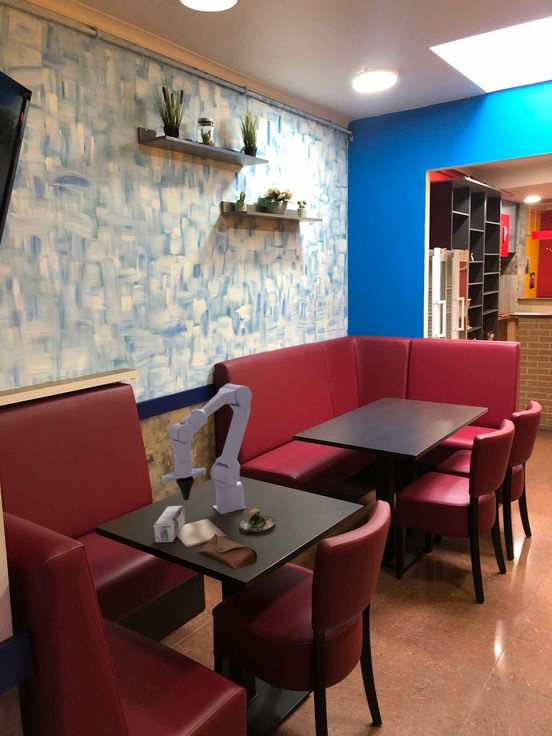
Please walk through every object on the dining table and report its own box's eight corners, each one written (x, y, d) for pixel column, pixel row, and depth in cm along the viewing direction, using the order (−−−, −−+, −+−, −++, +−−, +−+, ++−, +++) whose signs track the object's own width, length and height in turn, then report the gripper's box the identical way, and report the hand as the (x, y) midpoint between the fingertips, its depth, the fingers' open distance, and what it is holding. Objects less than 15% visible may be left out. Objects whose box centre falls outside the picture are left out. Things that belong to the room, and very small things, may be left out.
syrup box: (186, 521, 194) (173, 542, 180) (169, 521, 195) (155, 543, 181) (183, 505, 193) (170, 525, 179) (166, 506, 194) (152, 526, 180)
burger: (245, 538, 182) (244, 515, 180) (234, 524, 192) (232, 503, 191) (281, 530, 186) (280, 508, 185) (268, 517, 197) (267, 496, 196)
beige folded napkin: (207, 520, 197) (207, 518, 196) (226, 537, 182) (226, 535, 182) (170, 529, 191) (170, 527, 190) (187, 547, 177) (186, 546, 176)
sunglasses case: (194, 552, 173) (202, 529, 175) (211, 555, 178) (218, 534, 180) (236, 570, 161) (244, 546, 163) (252, 573, 166) (260, 550, 168)
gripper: (199, 452, 198) (202, 490, 200) (157, 460, 192) (161, 500, 194) (207, 457, 192) (209, 497, 194) (164, 466, 186) (167, 506, 188)
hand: (186, 499), depth 194 cm, fingers closed
